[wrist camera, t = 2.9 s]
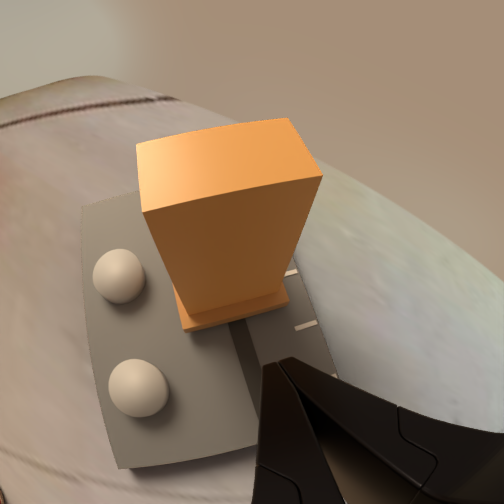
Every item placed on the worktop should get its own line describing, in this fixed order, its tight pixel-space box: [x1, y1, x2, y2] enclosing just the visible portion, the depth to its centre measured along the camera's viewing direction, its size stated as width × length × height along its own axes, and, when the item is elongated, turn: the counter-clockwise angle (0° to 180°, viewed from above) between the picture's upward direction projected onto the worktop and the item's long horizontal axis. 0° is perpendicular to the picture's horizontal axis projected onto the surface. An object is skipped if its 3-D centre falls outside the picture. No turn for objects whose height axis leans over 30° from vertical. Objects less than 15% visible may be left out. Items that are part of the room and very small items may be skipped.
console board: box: [81, 190, 339, 469], centre depth 15 cm, size 16×12×2 cm
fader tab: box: [136, 118, 323, 333], centre depth 11 cm, size 4×5×9 cm
